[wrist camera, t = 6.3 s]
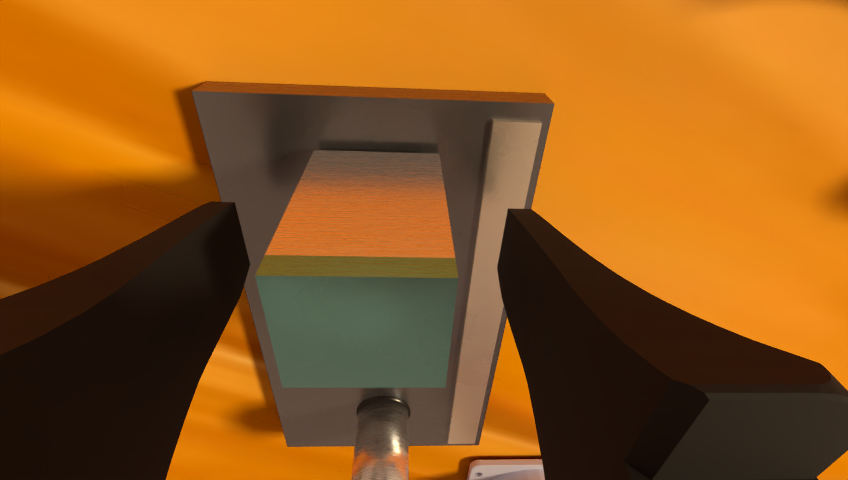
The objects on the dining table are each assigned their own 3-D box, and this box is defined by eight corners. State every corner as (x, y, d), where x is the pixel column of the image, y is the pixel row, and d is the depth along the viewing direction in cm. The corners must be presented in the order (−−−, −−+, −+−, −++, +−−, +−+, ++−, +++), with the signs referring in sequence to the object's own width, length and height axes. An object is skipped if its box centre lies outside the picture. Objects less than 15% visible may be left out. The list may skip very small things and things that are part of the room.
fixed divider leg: (411, 428, 21) (412, 562, 16) (355, 428, 21) (341, 564, 16) (413, 394, 19) (414, 533, 15) (352, 395, 19) (335, 534, 15)
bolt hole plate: (476, 427, 23) (479, 449, 22) (291, 428, 22) (286, 450, 21) (544, 93, 13) (556, 105, 12) (206, 81, 12) (188, 93, 11)
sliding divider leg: (433, 243, 14) (445, 387, 9) (324, 241, 14) (282, 387, 9) (439, 153, 12) (458, 277, 7) (314, 149, 12) (255, 275, 7)
